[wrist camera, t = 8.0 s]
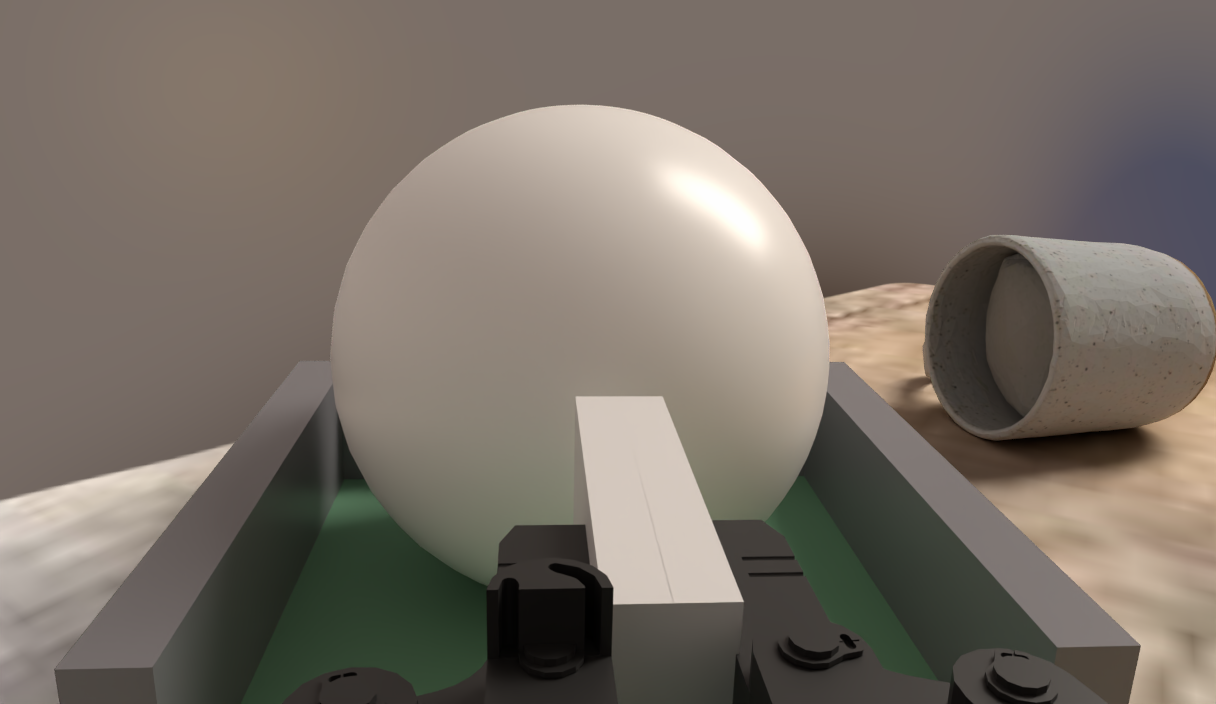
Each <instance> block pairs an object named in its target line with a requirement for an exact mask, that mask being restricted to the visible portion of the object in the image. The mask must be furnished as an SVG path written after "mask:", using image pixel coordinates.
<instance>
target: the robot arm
mask: <svg viewBox="0 0 1216 704" xmlns="http://www.w3.org/2000/svg"><path fill="white" fill-rule="evenodd" d="M486 602H487V660H486V662H485V663H484V665H483V666H482V667H481V668H480V669H479V670H478V671H477V672H475V673H474V674H473V675H472V676H471V677H469V678H467V679H465V680H463V681H462V682H460V683H458V684H456V685H454V686H451V687H448V688H445V689H442V690H439V691H435V692H431V693H427V694H423V695H419V696H416V693H415V691H414V689H413V686H412V684H411V683H410V682H408V681H407V680H405V679H404V678H403V677H401V676H400V675H399V674H397V673H394V672H391V671H387V670H383V669H380V668H376V667H350V668H345V669H341V670H336V671H332V672H328V673H324V674H322V675H320V676H318V677H316V678H314V679H312V680H310V681H308V682H306V683H303V684H302V685H301V686H300V687H298V688H297V689H296V690H295V691H294V692H293V693H292V694H291V695H289V696H288V697H287V698H286V699H285V700H284V702H283V703H282V704H1108V703H1107V702H1105V701H1104V700H1103V699H1102V698H1100V697H1099V696H1098V695H1097V694H1095V693H1094V692H1093V691H1091V690H1090V689H1089V688H1088V687H1086V686H1085V685H1084V684H1082V683H1081V682H1080V681H1079V680H1077V679H1076V678H1075V677H1074V676H1072V675H1071V674H1069V673H1068V672H1066V671H1064V670H1063V669H1061V668H1059V667H1058V666H1056V665H1055V664H1053V663H1051V662H1049V661H1047V660H1044V659H1041V658H1039V657H1036V656H1033V655H1031V654H1029V653H1026V652H1022V651H1018V650H1014V651H1013V650H1011V649H1002V648H994V649H977V650H974V651H972V652H969V653H966V654H964V655H961V656H960V658H959V659H958V660H957V662H956V663H955V664H954V666H953V668H952V675H951V681H950V683H948V682H942V681H936V680H931V679H925V678H920V677H914V676H909V675H904V674H900V673H896V672H892V671H889V670H886V669H884V668H883V667H882V665H881V664H880V662H879V660H878V658H877V657H876V655H875V653H874V652H873V650H872V648H871V647H870V646H869V645H868V644H867V643H866V642H865V641H864V640H863V639H862V638H861V636H859V635H857V634H856V633H854V632H852V631H850V630H849V629H847V628H845V627H843V626H842V625H838V624H835V623H832V622H830V621H829V619H828V617H827V615H826V613H825V611H824V610H823V608H822V606H821V604H820V602H819V600H818V598H817V597H816V595H815V593H814V591H813V589H812V587H811V585H810V583H809V582H808V580H807V578H806V576H804V575H803V570H802V569H801V567H800V565H799V563H798V561H797V560H795V556H794V554H793V552H792V550H791V548H790V546H789V544H788V542H787V541H786V539H785V537H784V536H783V535H782V534H780V533H779V532H777V531H776V530H775V529H773V528H772V527H770V526H769V525H768V524H766V523H765V522H764V521H762V520H711V518H710V515H709V512H708V510H707V507H706V505H705V502H704V500H703V497H702V495H701V492H700V490H699V487H698V485H697V482H696V480H695V477H694V475H693V472H692V469H691V467H690V464H689V462H688V459H687V457H686V454H685V452H684V449H683V447H682V444H681V442H680V439H679V437H678V434H677V432H676V429H675V426H674V424H673V421H672V419H671V416H670V414H669V411H668V409H667V406H666V404H665V401H664V399H663V396H575V449H574V513H573V525H515V526H514V527H513V528H512V529H511V530H510V532H509V533H508V534H507V535H506V536H505V537H504V538H503V539H502V540H501V542H500V543H499V551H498V567H497V574H496V575H495V576H493V577H492V579H491V581H490V583H489V585H488V587H487V590H486Z"/></svg>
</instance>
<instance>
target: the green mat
mask: <svg viewBox="0 0 1216 704" xmlns="http://www.w3.org/2000/svg"><path fill="white" fill-rule="evenodd" d="M765 523H766V524H768V525H769V526H770V527H772V528H773V529H775V530H776V531H777V532H779V533H780V534H782V535H783V536H784V537H785V539H786V541H787V542H788V544H789V546H790V548H791V550H792V552H793V554H794V556H795V560H797V561H798V563H799V565H800V567H801V569H802V570H803V575H804V576H806V578H807V580H808V582H809V583H810V585H811V587H812V589H813V591H814V593H815V595H816V597H817V598H818V600H819V602H820V604H821V606H822V608H823V610H824V611H825V613H826V615H827V617H828V619H829V621H830V622H832V623H835V624H838V625H842V626H843V627H845V628H847V629H849V630H850V631H852V632H854V633H856V634H857V635H859V636H861V638H862V639H863V640H864V641H865V642H866V643H867V644H868V645H869V646H870V647H871V648H872V650H873V652H874V653H875V655H876V657H877V658H878V660H879V662H880V664H881V665H882V667H883V668H884V669H886V670H889V671H892V672H896V673H900V674H904V675H909V676H914V677H920V678H925V679H931V680H936V681H938V679H937V678H936V676H935V675H934V673H933V672H932V670H931V669H930V667H929V665H928V664H927V662H926V661H925V659H924V658H923V656H922V655H921V653H920V652H919V650H918V649H917V647H916V646H915V644H914V643H913V641H912V640H911V638H910V637H909V635H908V634H907V632H906V631H905V629H904V627H903V626H902V624H901V623H900V621H899V620H898V618H897V617H896V615H895V614H894V612H893V611H892V609H891V608H890V606H889V605H888V603H887V602H886V600H885V599H884V597H883V596H882V594H881V593H880V591H879V589H878V588H877V586H876V585H875V583H874V582H873V580H872V579H871V577H870V576H869V574H868V573H867V571H866V570H865V568H864V567H863V565H862V564H861V562H860V561H859V559H858V558H857V556H856V554H855V553H854V551H853V550H852V548H851V547H850V545H849V544H848V542H847V541H846V539H845V538H844V536H843V535H842V533H841V532H840V530H839V529H838V527H837V526H836V524H835V523H834V521H833V520H832V518H831V516H830V515H829V513H828V512H827V510H826V509H825V507H824V506H823V504H822V503H821V501H820V500H819V498H818V497H817V495H816V494H815V492H814V491H813V489H812V488H811V486H810V485H809V483H808V482H807V480H806V478H805V477H804V476H798V477H797V478H796V480H795V482H794V483H793V485H792V487H791V488H790V490H789V491H788V493H787V494H786V496H785V497H784V499H783V500H782V501H781V503H780V504H779V505H778V507H777V508H776V509H775V510H774V512H773V513H772V514H771V516H770V517H769V518H768V519H767V520H766V521H765ZM487 587H488V586H486V585H484V584H481V583H478V582H477V581H475V580H473V579H471V578H469V577H467V576H465V575H463V574H461V573H459V572H457V571H455V570H454V569H452V568H451V567H449V566H448V565H446V564H445V563H443V562H442V561H440V560H439V559H438V558H436V557H435V556H433V555H432V554H430V553H429V552H428V551H426V550H425V549H423V548H422V547H420V546H419V545H418V544H417V543H416V542H415V541H414V540H413V539H412V538H411V537H410V536H409V535H408V534H407V533H406V532H405V531H403V530H402V529H401V528H400V526H399V525H398V524H397V523H396V522H395V521H394V520H393V518H392V517H391V516H390V515H389V514H388V513H387V511H386V510H385V509H384V507H383V506H382V505H381V504H380V502H379V501H378V500H377V498H376V497H375V496H374V495H373V493H372V492H371V490H370V488H369V486H368V484H367V482H366V481H365V479H344V481H343V483H342V485H341V487H340V489H339V492H338V494H337V496H336V498H335V500H334V502H333V505H332V507H331V509H330V511H329V513H328V515H327V518H326V520H325V522H324V524H323V526H322V528H321V531H320V533H319V535H318V537H317V539H316V542H315V544H314V546H313V548H312V550H311V552H310V555H309V557H308V559H307V561H306V563H305V565H304V568H303V570H302V572H301V574H300V576H299V578H298V581H297V583H296V585H295V587H294V589H293V591H292V594H291V596H290V598H289V600H288V602H287V604H286V607H285V609H284V611H283V613H282V615H281V618H280V620H279V622H278V624H277V626H276V628H275V631H274V633H273V635H272V637H271V639H270V641H269V644H268V646H267V648H266V650H265V652H264V654H263V657H262V659H261V661H260V663H259V665H258V667H257V670H256V672H255V674H254V676H253V678H252V680H251V683H250V685H249V687H248V689H247V691H246V694H245V696H244V698H243V700H242V702H241V704H282V703H283V702H284V700H285V699H286V698H287V697H288V696H289V695H291V694H292V693H293V692H294V691H295V690H296V689H297V688H298V687H300V686H301V685H302V684H303V683H306V682H308V681H310V680H312V679H314V678H316V677H318V676H320V675H322V674H324V673H328V672H332V671H336V670H341V669H345V668H350V667H376V668H380V669H383V670H387V671H391V672H394V673H397V674H399V675H400V676H401V677H403V678H404V679H405V680H407V681H408V682H410V683H411V684H412V686H413V689H414V691H415V693H416V696H419V695H423V694H427V693H431V692H435V691H439V690H442V689H445V688H448V687H451V686H454V685H456V684H458V683H460V682H462V681H463V680H465V679H467V678H469V677H471V676H472V675H473V674H474V673H475V672H477V671H478V670H479V669H480V668H481V667H482V666H483V665H484V663H485V662H486V660H487V602H486V590H487Z"/></svg>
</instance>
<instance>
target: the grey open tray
mask: <svg viewBox="0 0 1216 704" xmlns="http://www.w3.org/2000/svg"><path fill="white" fill-rule="evenodd" d="M798 476H804V477H805V478H806V480H807V482H808V483H809V485H810V486H811V488H812V489H813V491H814V492H815V494H816V495H817V497H818V498H819V500H820V501H821V503H822V504H823V506H824V507H825V509H826V510H827V512H828V513H829V515H830V516H831V518H832V520H833V521H834V523H835V524H836V526H837V527H838V529H839V530H840V532H841V533H842V535H843V536H844V538H845V539H846V541H847V542H848V544H849V545H850V547H851V548H852V550H853V551H854V553H855V554H856V556H857V558H858V559H859V561H860V562H861V564H862V565H863V567H864V568H865V570H866V571H867V573H868V574H869V576H870V577H871V579H872V580H873V582H874V583H875V585H876V586H877V588H878V589H879V591H880V593H881V594H882V596H883V597H884V599H885V600H886V602H887V603H888V605H889V606H890V608H891V609H892V611H893V612H894V614H895V615H896V617H897V618H898V620H899V621H900V623H901V624H902V626H903V627H904V629H905V631H906V632H907V634H908V635H909V637H910V638H911V640H912V641H913V643H914V644H915V646H916V647H917V649H918V650H919V652H920V653H921V655H922V656H923V658H924V659H925V661H926V662H927V664H928V665H929V667H930V669H931V670H932V672H933V673H934V675H935V676H936V678H937V679H938V681H942V682H948V683H950V681H951V675H952V668H953V666H954V664H955V663H956V662H957V660H958V659H959V658H960V656H961V655H964V654H966V653H969V652H972V651H974V650H977V649H994V648H1002V649H1011V650H1013V651H1014V650H1018V651H1022V652H1026V653H1029V654H1031V655H1033V656H1036V657H1039V658H1041V659H1044V660H1047V661H1049V662H1051V663H1053V664H1055V665H1056V666H1058V667H1059V668H1061V669H1063V670H1064V671H1066V672H1068V673H1069V674H1071V675H1072V676H1074V677H1075V678H1076V679H1077V680H1079V681H1080V682H1081V683H1082V684H1084V685H1085V686H1086V687H1088V688H1089V689H1090V690H1091V691H1093V692H1094V693H1095V694H1097V695H1098V696H1099V697H1100V698H1102V699H1103V700H1104V701H1105V702H1107V703H1108V704H1128V703H1129V699H1130V694H1131V689H1132V685H1133V680H1134V675H1135V670H1136V666H1137V661H1138V656H1139V652H1140V647H1141V645H1140V644H1139V643H1138V642H1137V641H1135V640H1134V639H1133V638H1132V637H1131V636H1130V635H1129V634H1128V633H1127V632H1126V631H1125V630H1124V629H1123V628H1122V627H1121V626H1120V625H1119V624H1118V623H1117V622H1116V621H1115V620H1113V619H1112V618H1111V617H1110V616H1109V615H1108V614H1107V613H1106V612H1105V611H1104V610H1103V609H1102V608H1101V607H1100V606H1099V605H1098V604H1097V603H1096V602H1095V601H1094V600H1093V599H1092V598H1090V597H1089V596H1088V595H1087V594H1086V593H1085V592H1084V591H1083V590H1082V589H1081V588H1080V587H1079V586H1078V585H1077V584H1076V583H1075V582H1074V581H1073V580H1072V579H1071V578H1070V577H1068V576H1067V575H1066V574H1065V573H1064V572H1063V571H1062V570H1061V569H1060V568H1059V567H1058V566H1057V565H1056V564H1055V563H1054V562H1053V561H1052V560H1051V559H1050V558H1049V557H1048V556H1047V555H1045V554H1044V553H1043V552H1042V551H1041V550H1040V549H1039V548H1038V547H1037V546H1036V545H1035V544H1034V543H1033V542H1032V541H1031V540H1030V539H1029V538H1028V537H1027V536H1026V535H1025V534H1023V533H1022V532H1021V531H1020V530H1019V529H1018V528H1017V527H1016V526H1015V525H1014V524H1013V523H1012V522H1011V521H1010V520H1009V519H1008V518H1007V517H1006V516H1005V515H1004V514H1003V513H1002V512H1000V511H999V510H998V509H997V508H996V507H995V506H994V505H993V504H992V503H991V502H990V501H989V500H988V499H987V498H986V497H985V496H984V495H983V494H982V493H981V492H980V491H978V490H977V489H976V488H975V487H974V486H973V485H972V484H971V483H970V482H969V481H968V480H967V479H966V478H965V477H964V476H963V475H962V474H961V473H960V472H959V471H958V470H956V469H955V468H954V467H953V466H952V465H951V464H950V463H949V462H948V461H947V460H946V459H945V458H944V457H943V456H942V455H941V454H940V453H939V452H938V451H937V450H936V449H935V448H933V447H932V446H931V445H930V444H929V443H928V442H927V441H926V440H925V439H924V438H923V437H922V436H921V435H920V434H919V433H918V432H917V431H916V430H915V429H914V428H913V427H911V426H910V425H909V424H908V423H907V422H906V421H905V420H904V419H903V418H902V417H901V416H900V415H899V414H898V413H897V412H896V411H895V410H894V409H893V408H892V407H891V406H890V405H888V404H887V403H886V402H885V401H884V400H883V399H882V398H881V397H880V396H879V395H878V394H877V393H876V392H875V391H874V390H873V389H872V388H871V387H870V386H869V385H868V384H866V383H865V382H864V381H863V380H862V379H861V378H860V377H859V376H858V375H857V374H856V373H855V372H854V371H853V370H852V369H851V368H850V367H849V366H848V365H847V364H846V363H844V362H829V376H828V386H827V393H826V398H825V403H824V409H823V414H822V417H821V421H820V424H819V427H818V430H817V434H816V437H815V440H814V442H813V445H812V447H811V450H810V452H809V455H808V457H807V459H806V461H805V463H804V465H803V467H802V469H801V471H800V473H799V475H798ZM344 479H364V477H363V475H362V473H361V471H360V469H359V468H358V466H357V464H356V462H355V460H354V458H353V456H352V454H351V453H350V451H349V447H348V444H347V441H346V438H345V435H344V432H343V429H342V425H341V422H340V419H339V415H338V412H337V409H336V405H335V397H334V389H333V380H332V370H331V361H300V362H299V363H298V364H297V365H296V367H295V368H294V369H293V370H292V372H291V373H290V374H289V375H288V377H287V378H286V379H285V380H284V382H283V383H282V384H281V385H280V387H279V388H278V389H277V390H276V392H275V393H274V394H273V395H272V397H271V398H270V399H269V400H268V402H267V403H266V404H265V405H264V407H263V408H262V409H261V410H260V412H259V413H258V414H257V416H256V417H255V418H254V419H253V421H252V422H251V423H250V424H249V426H248V427H247V428H246V429H245V431H244V432H243V433H242V434H241V436H240V437H239V438H238V439H237V441H236V442H235V443H234V444H233V446H232V447H231V448H230V449H229V451H228V452H227V453H226V454H225V456H224V457H223V458H222V459H221V461H220V462H219V463H218V464H217V466H216V467H215V468H214V470H213V471H212V472H211V473H210V475H209V476H208V477H207V478H206V480H205V481H204V482H203V483H202V485H201V486H200V487H199V488H198V490H197V491H196V492H195V493H194V495H193V496H192V497H191V498H190V500H189V501H188V502H187V503H186V505H185V506H184V507H183V508H182V510H181V511H180V512H179V513H178V515H177V516H176V517H175V519H174V520H173V521H172V522H171V524H170V525H169V526H168V527H167V529H166V530H165V531H164V532H163V534H162V535H161V536H160V537H159V539H158V540H157V541H156V542H155V544H154V545H153V546H152V547H151V549H150V550H149V551H148V552H147V554H146V555H145V556H144V557H143V559H142V560H141V561H140V563H139V564H138V565H137V566H136V568H135V569H134V570H133V571H132V573H131V574H130V575H129V576H128V578H127V579H126V580H125V581H124V583H123V584H122V585H121V586H120V588H119V589H118V590H117V591H116V593H115V594H114V595H113V596H112V598H111V599H110V600H109V601H108V603H107V604H106V605H105V606H104V608H103V609H102V610H101V612H100V613H99V614H98V615H97V617H96V618H95V619H94V620H93V622H92V623H91V624H90V625H89V627H88V628H87V629H86V630H85V632H84V633H83V634H82V635H81V637H80V638H79V639H78V640H77V642H76V643H75V644H74V645H73V647H72V648H71V649H70V650H69V652H68V653H67V654H66V655H65V657H64V658H63V659H62V661H61V662H60V663H59V664H58V666H57V667H56V668H55V669H54V671H55V677H56V683H57V689H58V695H59V702H60V704H241V702H242V700H243V698H244V696H245V694H246V691H247V689H248V687H249V685H250V683H251V680H252V678H253V676H254V674H255V672H256V670H257V667H258V665H259V663H260V661H261V659H262V657H263V654H264V652H265V650H266V648H267V646H268V644H269V641H270V639H271V637H272V635H273V633H274V631H275V628H276V626H277V624H278V622H279V620H280V618H281V615H282V613H283V611H284V609H285V607H286V604H287V602H288V600H289V598H290V596H291V594H292V591H293V589H294V587H295V585H296V583H297V581H298V578H299V576H300V574H301V572H302V570H303V568H304V565H305V563H306V561H307V559H308V557H309V555H310V552H311V550H312V548H313V546H314V544H315V542H316V539H317V537H318V535H319V533H320V531H321V528H322V526H323V524H324V522H325V520H326V518H327V515H328V513H329V511H330V509H331V507H332V505H333V502H334V500H335V498H336V496H337V494H338V492H339V489H340V487H341V485H342V483H343V481H344Z"/></svg>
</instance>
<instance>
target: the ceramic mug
mask: <svg viewBox="0 0 1216 704" xmlns="http://www.w3.org/2000/svg"><path fill="white" fill-rule="evenodd" d="M923 357H924V369H925V374H926V376H927V377H930V378H931V381H932V385H933V388H934V390H935V393H936V395H937V397H938V399H939V401H940V403H941V405H942V406H943V408H944V410H945V411H946V412H947V413H948V414H949V415H950V417H951V418H952V419H953V420H954V421H955V422H956V423H957V424H958V425H959V426H960V427H962V428H963V429H964V430H966V431H967V432H969V433H971V434H973V435H975V436H977V437H980V438H984V439H989V440H995V441H997V440H1007V439H1018V438H1029V437H1044V436H1055V435H1065V434H1074V433H1082V432H1090V431H1107V430H1117V429H1127V428H1136V427H1139V426H1143V425H1147V424H1150V423H1154V422H1157V421H1160V420H1163V419H1166V418H1168V417H1170V416H1172V415H1174V414H1176V413H1177V412H1179V411H1181V410H1182V409H1184V408H1185V407H1186V406H1187V405H1188V404H1190V403H1191V402H1192V401H1193V400H1194V399H1195V398H1196V397H1197V395H1198V394H1199V393H1200V392H1201V390H1202V389H1203V388H1204V386H1205V385H1206V383H1207V381H1208V379H1209V377H1210V375H1211V373H1212V370H1213V367H1214V364H1215V360H1216V311H1215V308H1214V305H1213V302H1212V299H1211V297H1210V296H1209V294H1208V292H1207V291H1206V289H1205V287H1204V285H1203V283H1202V281H1201V280H1200V279H1199V278H1198V276H1197V275H1196V274H1195V273H1194V272H1193V271H1192V270H1190V269H1189V268H1188V267H1187V266H1185V265H1184V264H1183V263H1182V262H1180V261H1178V260H1176V259H1174V258H1172V257H1170V256H1168V255H1166V254H1162V253H1159V252H1156V251H1153V250H1150V249H1147V248H1143V247H1140V246H1136V245H1129V244H1121V243H1099V242H1083V241H1070V240H1058V239H1047V238H1035V237H1024V236H1015V235H991V236H988V237H984V238H981V239H978V240H976V241H974V242H972V243H970V244H969V245H968V246H966V247H964V248H962V249H961V250H960V251H959V252H958V253H957V254H956V255H955V256H954V257H953V258H952V259H951V260H950V261H949V263H948V264H947V266H946V267H945V268H944V269H943V271H942V273H941V275H940V277H939V279H938V281H937V282H936V285H935V288H934V290H933V293H932V295H931V298H930V302H929V307H928V311H927V314H926V325H925V342H924V344H923Z"/></svg>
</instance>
